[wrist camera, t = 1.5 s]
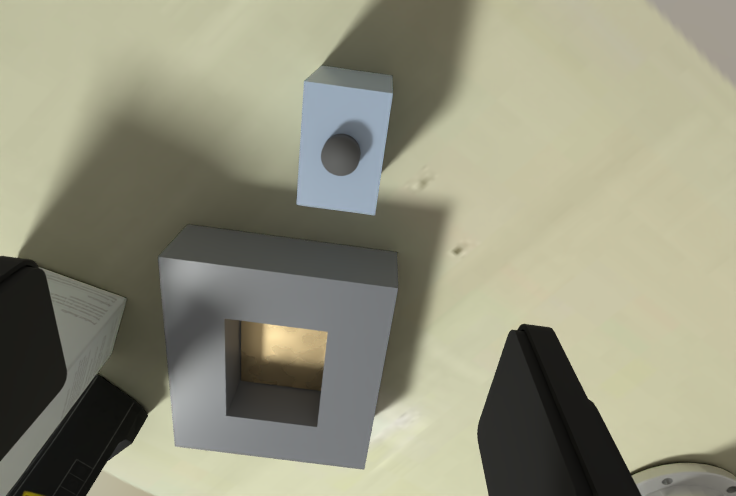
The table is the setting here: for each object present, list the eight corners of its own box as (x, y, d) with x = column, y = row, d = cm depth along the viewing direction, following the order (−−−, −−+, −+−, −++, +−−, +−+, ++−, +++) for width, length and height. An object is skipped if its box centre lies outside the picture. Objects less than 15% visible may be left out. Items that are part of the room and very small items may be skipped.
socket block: (397, 252, 31) (398, 288, 27) (366, 421, 39) (364, 469, 35) (187, 224, 31) (157, 256, 27) (197, 400, 39) (175, 446, 35)
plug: (392, 75, 26) (393, 96, 20) (377, 176, 29) (374, 221, 23) (321, 65, 26) (301, 83, 20) (313, 167, 29) (293, 211, 23)
